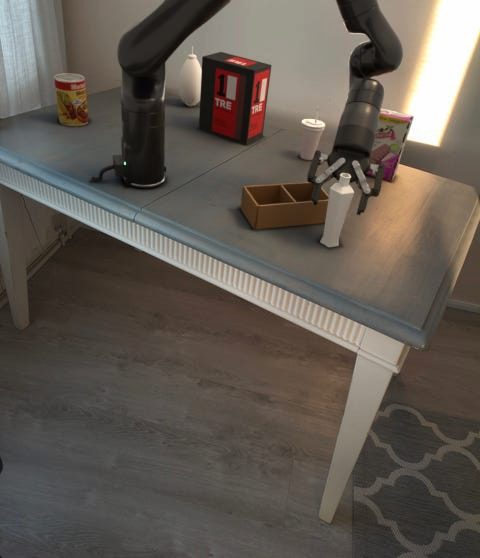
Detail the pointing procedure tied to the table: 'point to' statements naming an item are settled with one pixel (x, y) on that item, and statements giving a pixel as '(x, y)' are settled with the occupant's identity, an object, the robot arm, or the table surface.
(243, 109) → the cleaning product box
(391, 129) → the candy bar box
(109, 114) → the table surface
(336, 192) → the perfume bottle
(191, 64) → the sauce bottle
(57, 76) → the canned food
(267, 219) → the divided tray
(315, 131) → the smoothie
